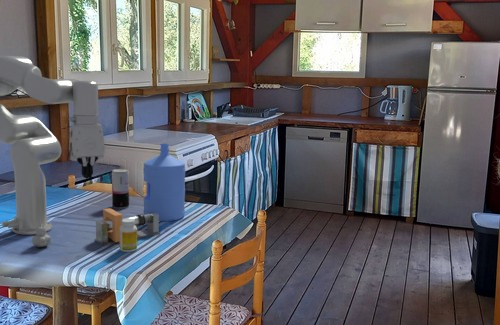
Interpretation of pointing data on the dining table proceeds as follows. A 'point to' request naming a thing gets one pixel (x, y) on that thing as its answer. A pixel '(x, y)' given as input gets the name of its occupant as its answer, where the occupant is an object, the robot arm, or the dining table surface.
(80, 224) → the dining table surface
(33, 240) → the grey figurine
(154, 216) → the pipe rig
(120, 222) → the collar
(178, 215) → the water jug
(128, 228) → the supplement bottle
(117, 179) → the beverage can
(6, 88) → the robot arm
